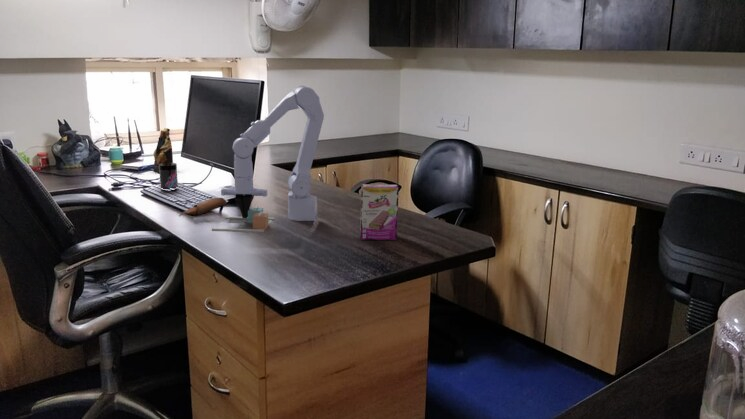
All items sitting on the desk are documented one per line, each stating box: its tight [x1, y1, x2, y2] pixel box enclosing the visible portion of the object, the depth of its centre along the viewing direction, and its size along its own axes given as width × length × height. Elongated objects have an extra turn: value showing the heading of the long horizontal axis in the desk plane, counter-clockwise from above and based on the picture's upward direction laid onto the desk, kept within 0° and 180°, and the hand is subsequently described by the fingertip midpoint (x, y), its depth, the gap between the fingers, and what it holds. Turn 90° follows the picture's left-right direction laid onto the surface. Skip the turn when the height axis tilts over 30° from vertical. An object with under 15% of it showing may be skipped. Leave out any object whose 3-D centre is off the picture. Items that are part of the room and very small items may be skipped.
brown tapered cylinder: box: [178, 197, 228, 217], centre depth 214 cm, size 18×7×7 cm
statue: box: [152, 127, 174, 174], centre depth 281 cm, size 12×8×20 cm, turn 37°
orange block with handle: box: [252, 211, 270, 230], centre depth 191 cm, size 4×4×5 cm
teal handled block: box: [247, 205, 264, 224], centre depth 198 cm, size 4×4×5 cm
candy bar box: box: [359, 183, 399, 241], centre depth 185 cm, size 11×5×16 cm, turn 92°
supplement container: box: [159, 162, 179, 189], centre depth 246 cm, size 7×7×10 cm
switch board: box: [211, 215, 275, 233], centre depth 195 cm, size 16×15×2 cm
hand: (245, 217), depth 198 cm, fingers closed
